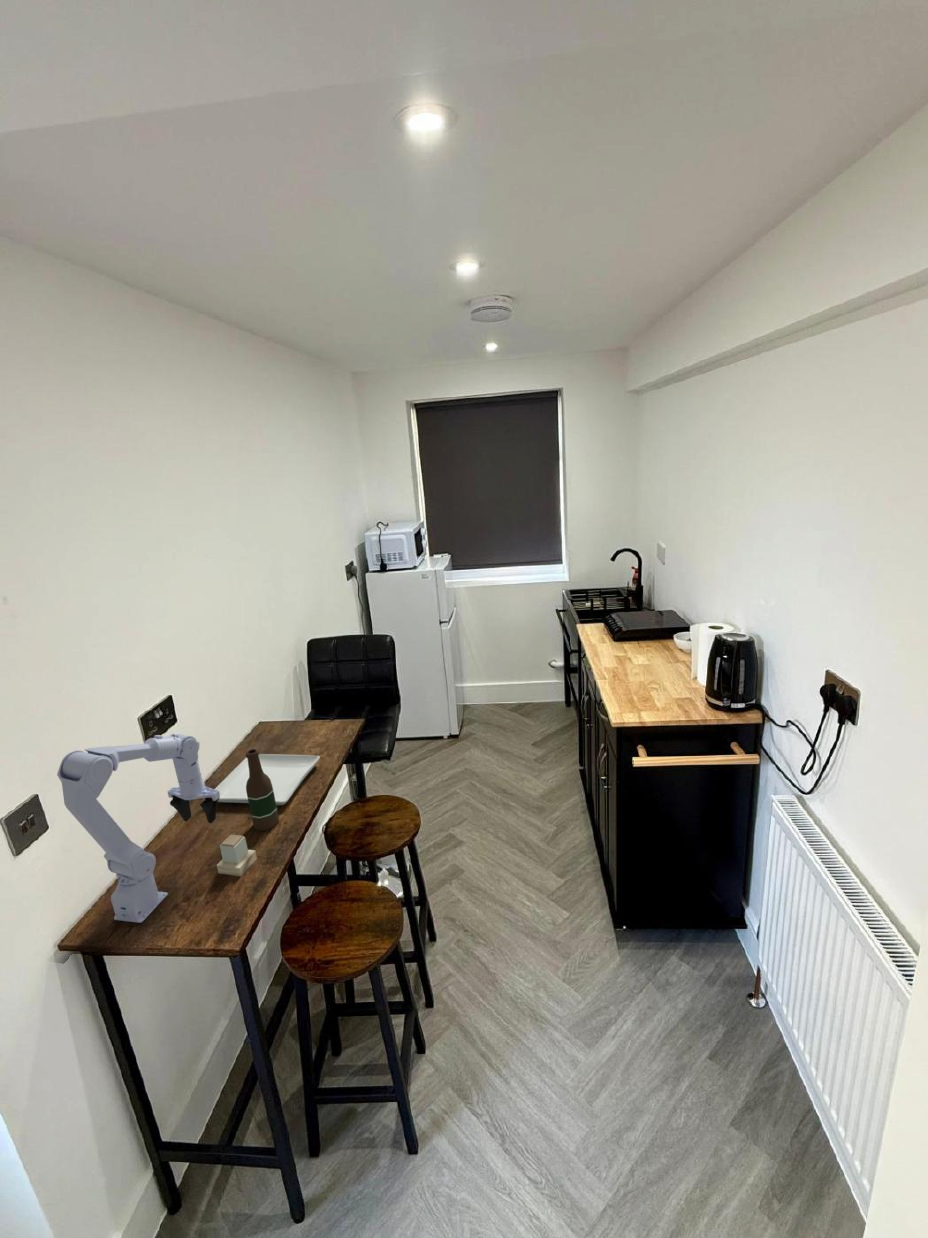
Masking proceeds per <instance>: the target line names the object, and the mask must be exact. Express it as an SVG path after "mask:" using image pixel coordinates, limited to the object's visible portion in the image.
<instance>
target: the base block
mask: <svg viewBox="0 0 928 1238" xmlns="http://www.w3.org/2000/svg"><path fill="white" fill-rule="evenodd" d="M256 851H257V850H254V849H248V854H247V855H246V856H245V857H244V858H243V859H242V860H241V861H240V862H239V864H235V863H227V862H223V858H222V859H221V860H220V861H219V862H218V863H217V864H216V868H217V873H218V874H221V875H228V876H234V877H235V876H236V877H243V876H244V875H245V873H246V872H247V871H248V869H249V868H250V867H251V866H252V865H253V864H254V862H255V861H256V860H258V856H257V852H256Z"/></svg>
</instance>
